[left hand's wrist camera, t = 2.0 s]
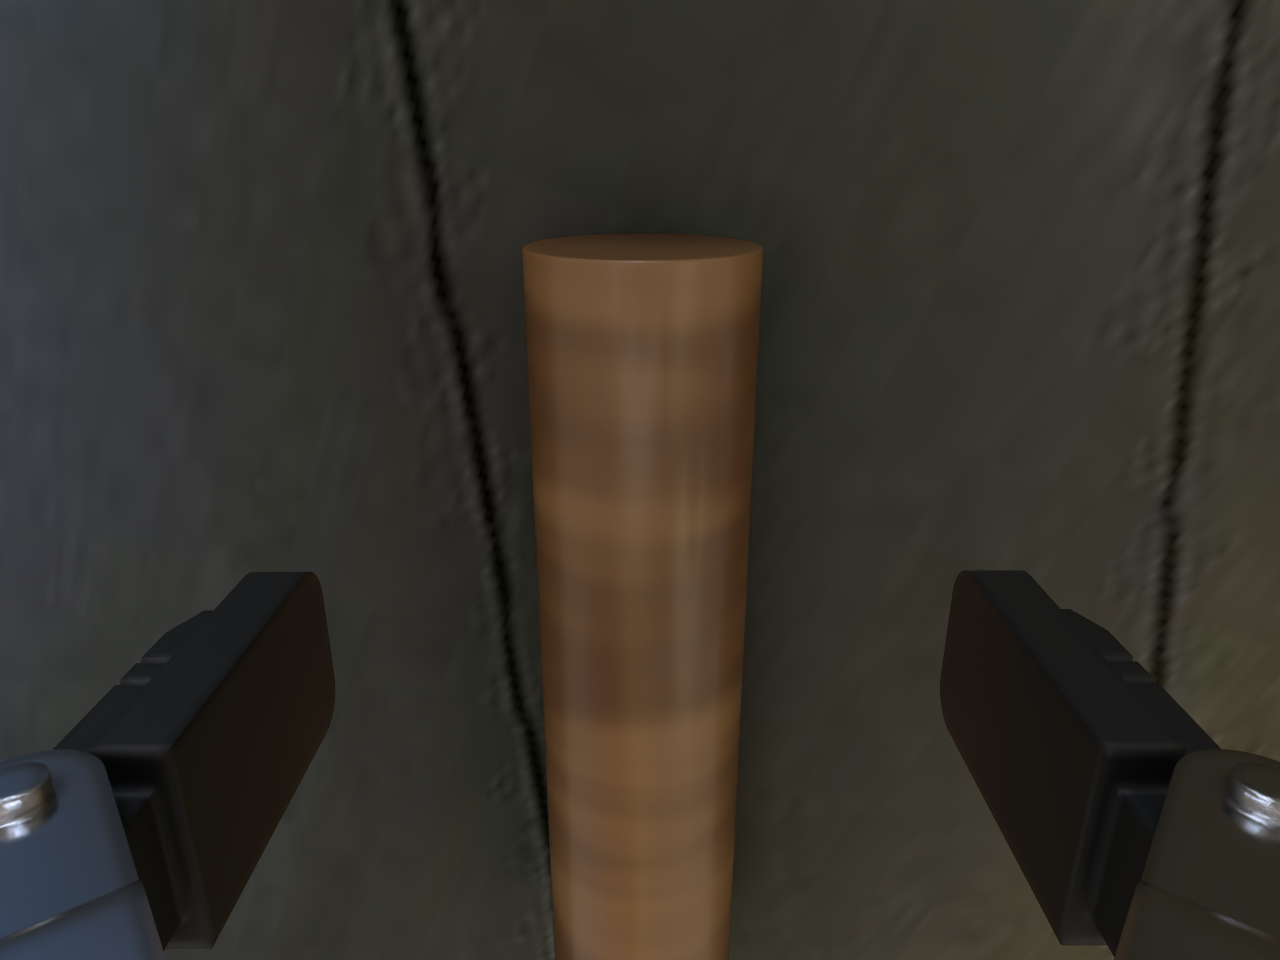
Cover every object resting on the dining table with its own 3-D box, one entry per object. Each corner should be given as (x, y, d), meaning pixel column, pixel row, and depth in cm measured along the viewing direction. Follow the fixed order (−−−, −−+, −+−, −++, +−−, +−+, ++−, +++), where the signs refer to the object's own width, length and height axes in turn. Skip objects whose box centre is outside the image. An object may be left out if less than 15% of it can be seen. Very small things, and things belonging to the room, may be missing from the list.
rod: (536, 233, 25) (506, 260, 20) (748, 232, 25) (780, 260, 20) (563, 900, 34) (547, 1051, 29) (720, 900, 34) (736, 1051, 29)
